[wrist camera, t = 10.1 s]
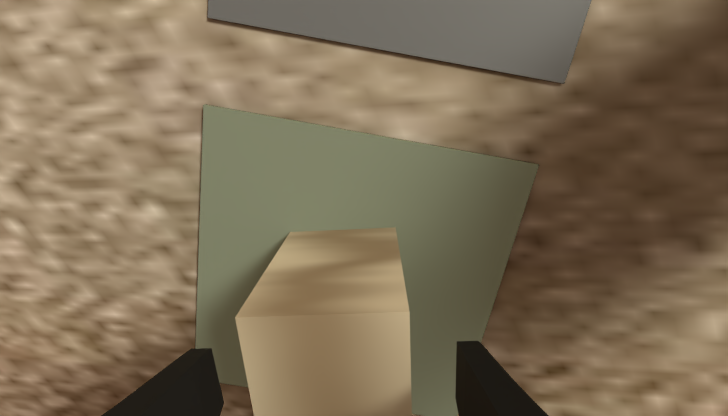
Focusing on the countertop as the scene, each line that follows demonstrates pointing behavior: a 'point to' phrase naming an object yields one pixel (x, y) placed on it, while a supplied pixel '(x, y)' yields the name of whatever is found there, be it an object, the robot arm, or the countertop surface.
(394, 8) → the tile
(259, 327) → the birch block
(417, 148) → the olive mat
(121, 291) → the countertop surface
